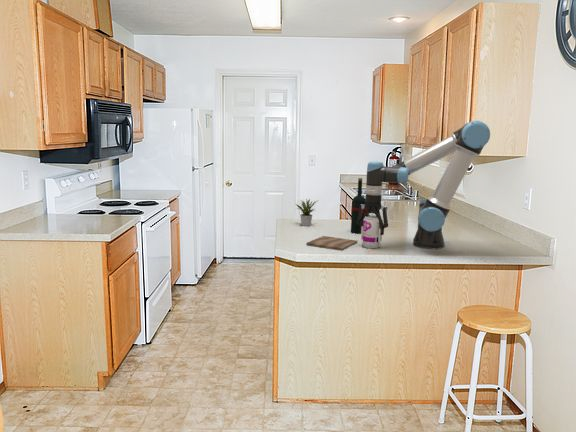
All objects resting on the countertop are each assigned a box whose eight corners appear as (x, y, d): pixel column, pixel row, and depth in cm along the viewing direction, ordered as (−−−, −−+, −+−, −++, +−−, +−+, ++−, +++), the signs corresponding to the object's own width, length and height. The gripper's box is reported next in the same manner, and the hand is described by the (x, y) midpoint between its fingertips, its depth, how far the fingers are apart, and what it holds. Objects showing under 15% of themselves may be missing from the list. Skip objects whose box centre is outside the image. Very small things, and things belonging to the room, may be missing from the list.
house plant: (314, 222, 309) (315, 195, 306) (323, 227, 296) (324, 199, 293) (292, 223, 305) (293, 196, 302) (300, 228, 292) (301, 199, 289)
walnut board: (357, 243, 258) (357, 240, 258) (342, 250, 242) (342, 248, 242) (323, 238, 268) (323, 235, 267) (306, 245, 251) (306, 242, 251)
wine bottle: (360, 235, 276) (363, 179, 271) (347, 231, 284) (350, 177, 279) (370, 233, 281) (373, 179, 275) (358, 230, 289) (360, 177, 284)
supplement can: (368, 249, 246) (369, 218, 243) (359, 245, 253) (360, 215, 251) (382, 248, 249) (384, 217, 246) (373, 244, 257) (374, 214, 254)
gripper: (350, 193, 248) (348, 238, 253) (392, 196, 238) (389, 244, 242) (356, 191, 255) (354, 236, 259) (397, 195, 245) (394, 241, 249)
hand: (371, 240), depth 251 cm, fingers closed on supplement can, 8 cm apart
